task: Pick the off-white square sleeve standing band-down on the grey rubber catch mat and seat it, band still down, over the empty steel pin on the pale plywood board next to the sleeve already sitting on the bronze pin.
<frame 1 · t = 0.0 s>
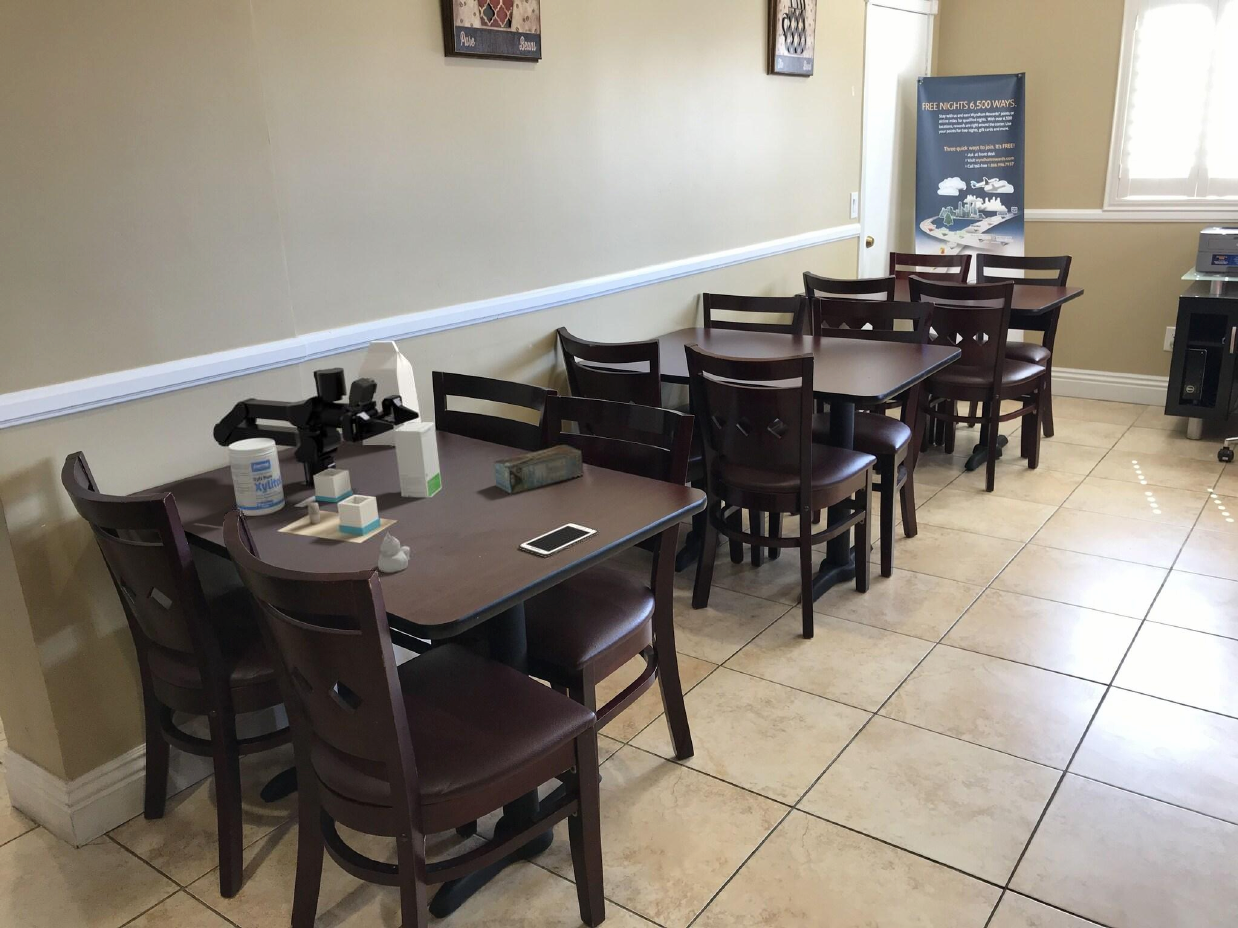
hand: (406, 420, 204), 17 cm above the table, tool horizontal, fingers open, 9 cm apart
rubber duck: (396, 572, 170), on the table
pin board: (338, 530, 190), on the table
skincare box: (421, 495, 208), on the table
cell phone: (559, 543, 181), on the table
milk: (393, 440, 251), on the table
sleeve b: (360, 528, 188), point 1 cm above the table, touching pin board
sleeve a: (334, 499, 207), resting on catch mat
catch mat: (334, 500, 207), on the table
supplement tub: (262, 510, 203), on the table
beverage carton: (540, 482, 215), on the table
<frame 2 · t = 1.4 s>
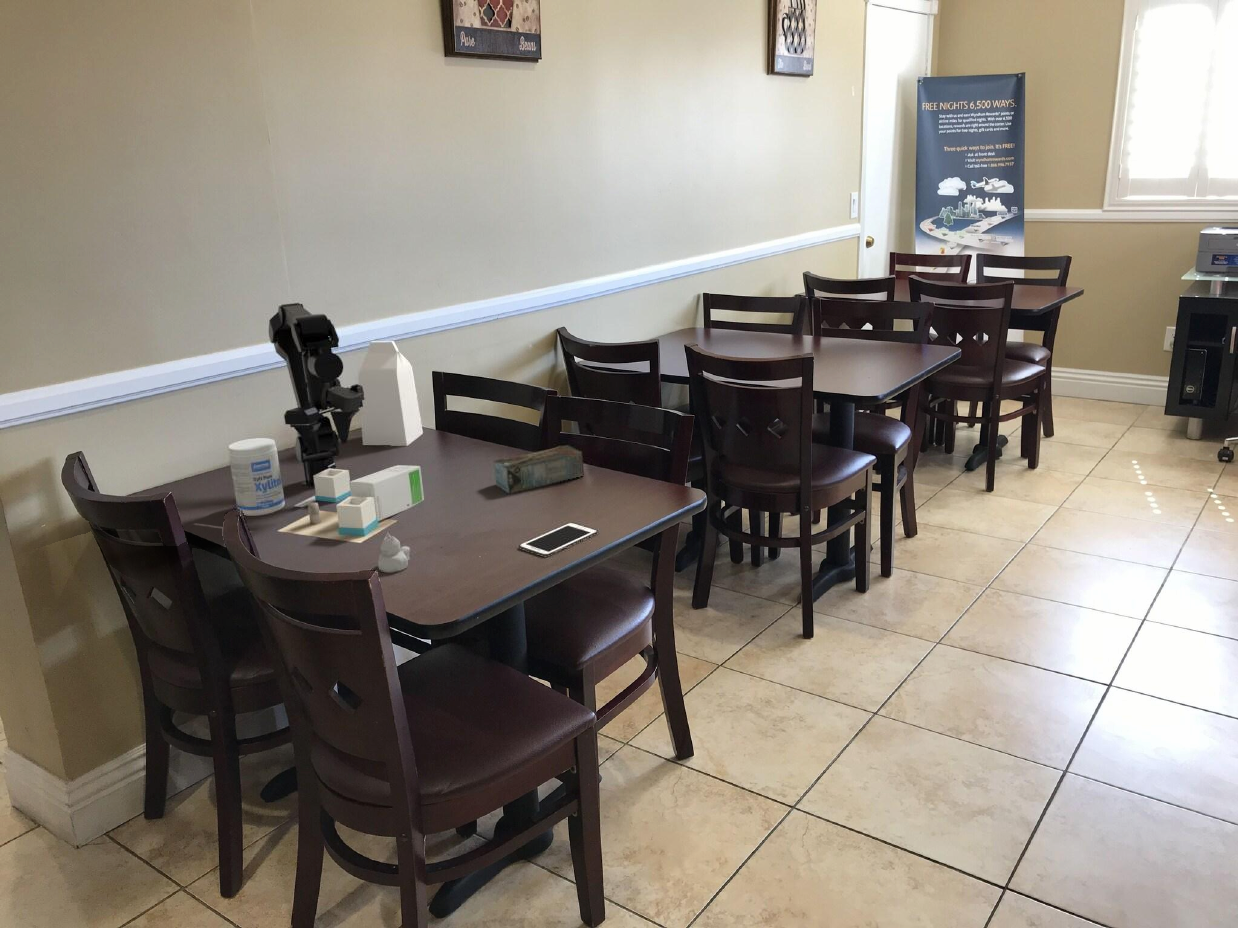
hand: (330, 448, 203), 12 cm above the table, tool pointing down, fingers open, 9 cm apart
skincare box: (410, 482, 203), point 4 cm above the table, touching pin board
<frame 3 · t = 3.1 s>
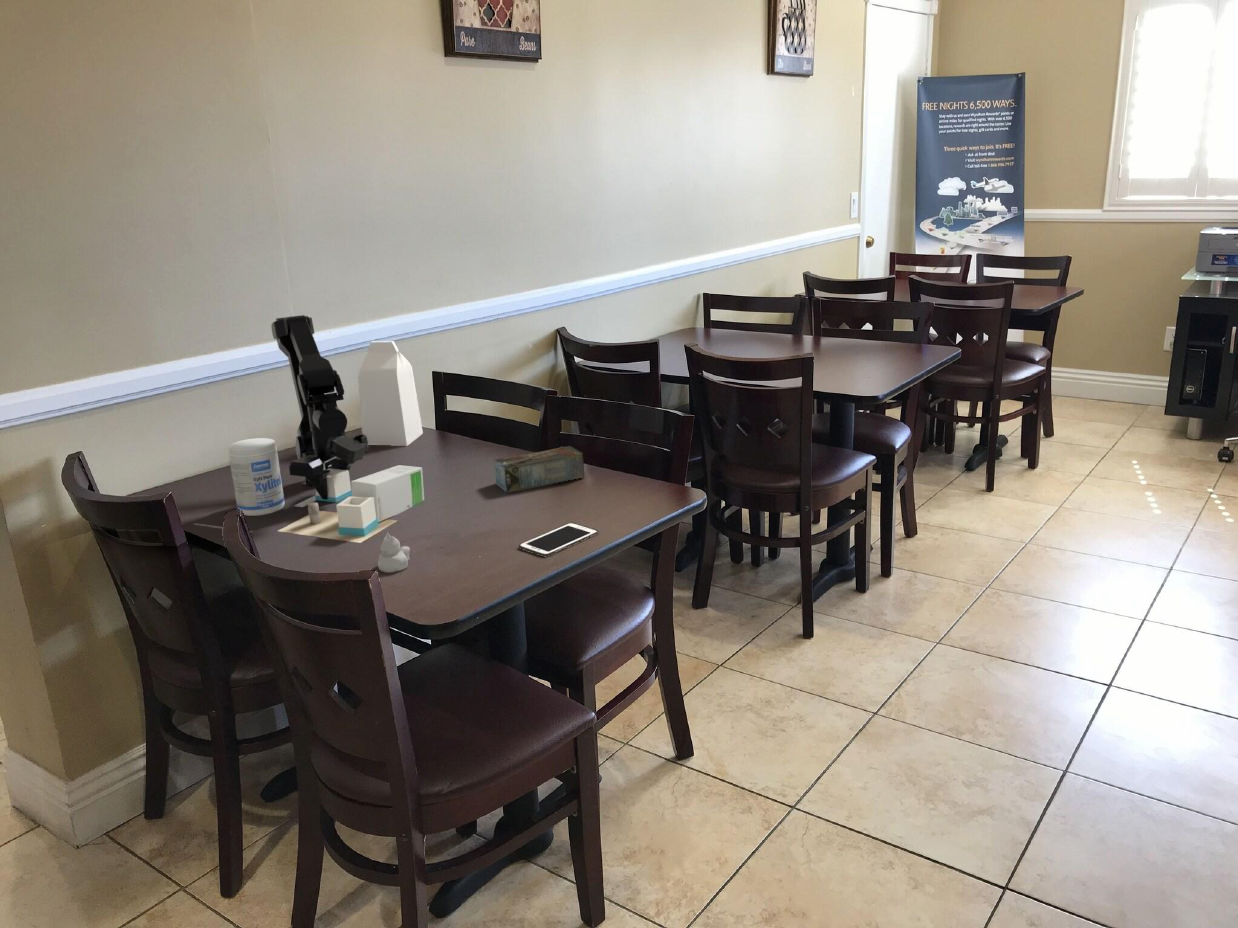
hand: (334, 494, 206), 1 cm above the table, tool pointing down, fingers closed on sleeve a, 6 cm apart
sleeve a: (334, 499, 207), resting on catch mat, touching gripper
everything else where it was.
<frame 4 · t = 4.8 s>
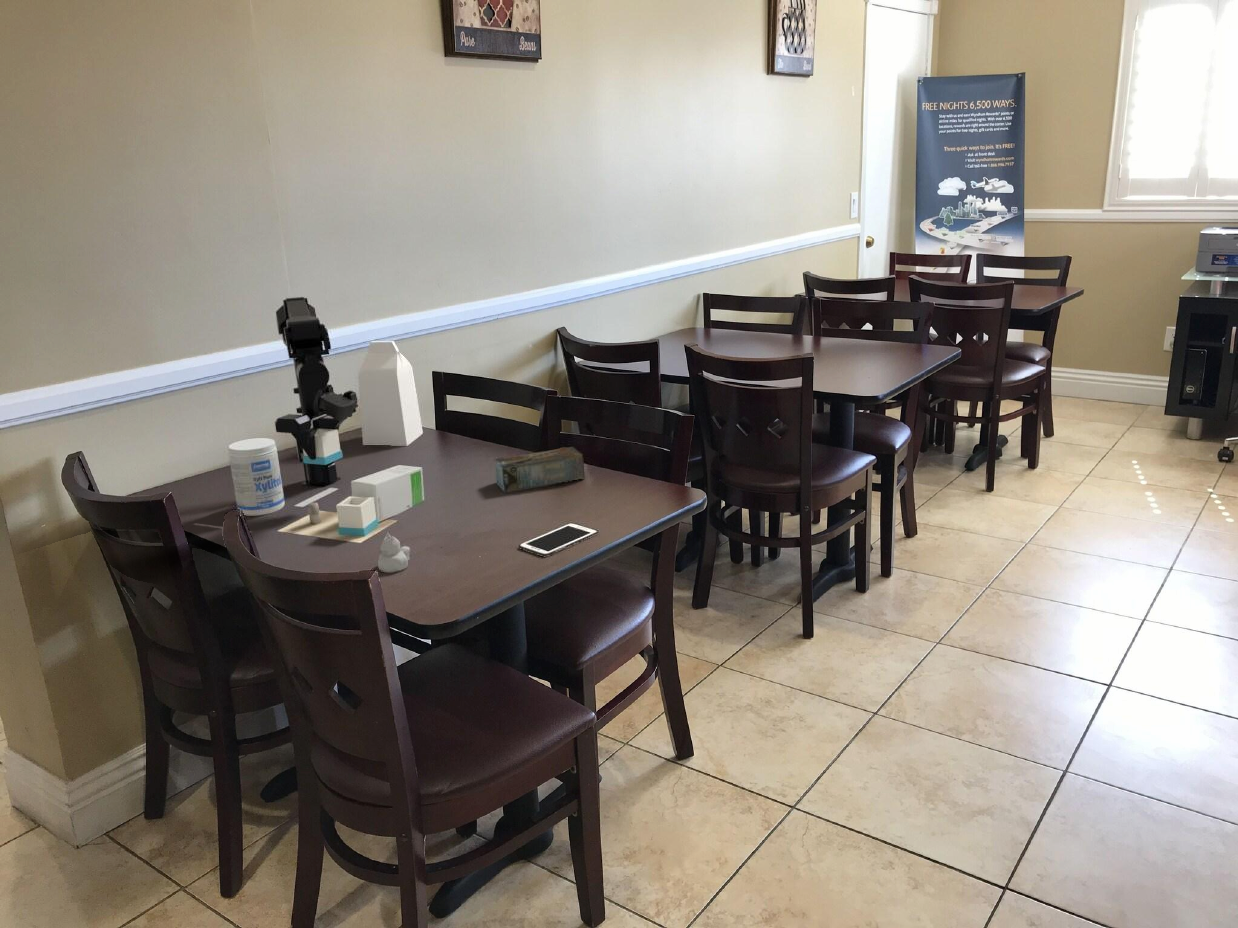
hand: (322, 455, 198), 12 cm above the table, tool pointing down, fingers closed on sleeve a, 6 cm apart
sleeve a: (323, 460, 198), point 11 cm above the table, touching gripper
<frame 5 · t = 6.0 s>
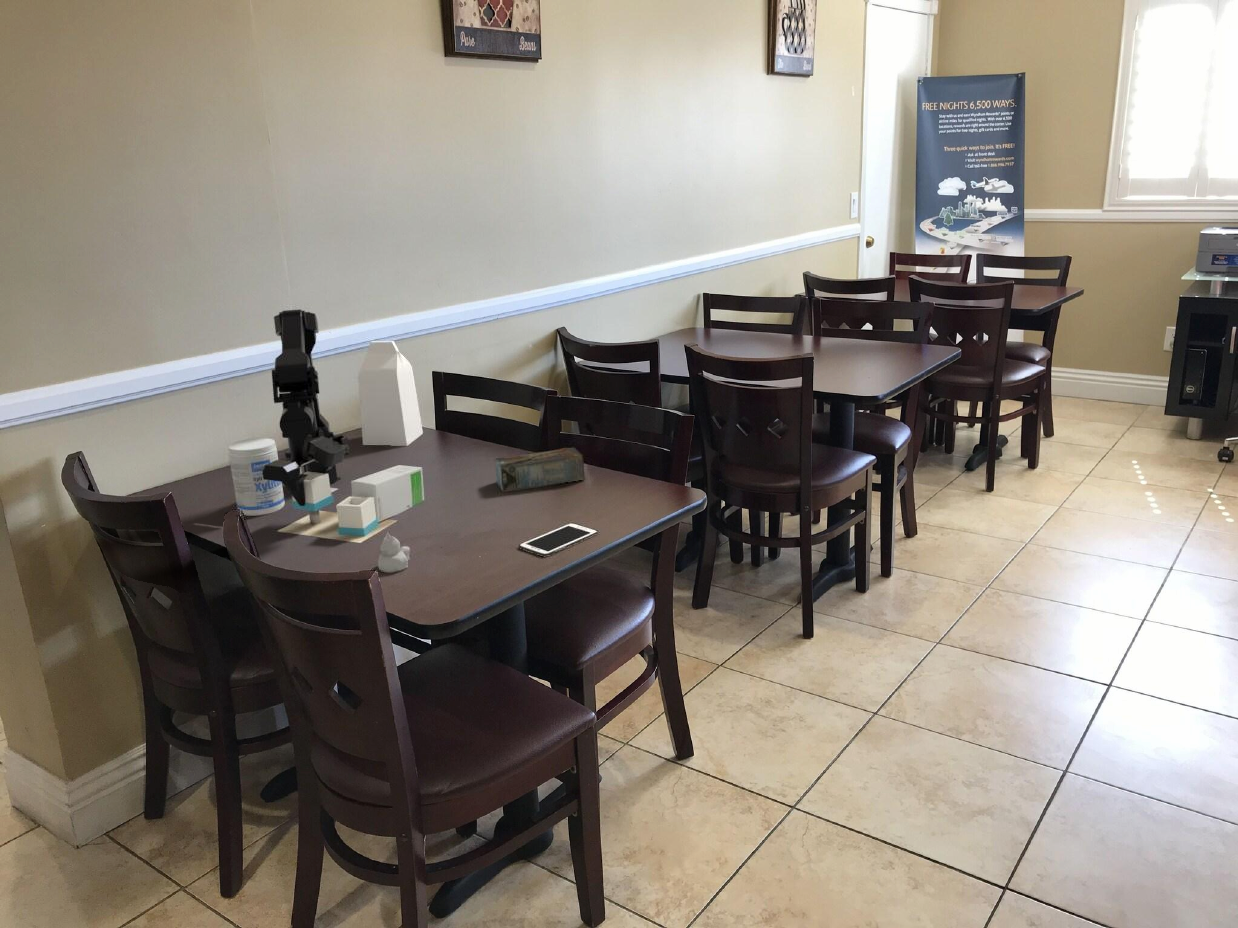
hand: (312, 500, 190), 6 cm above the table, tool pointing down, fingers closed on sleeve a, 6 cm apart
sleeve a: (313, 505, 191), point 5 cm above the table, touching gripper
when the fingers open (3 cm above the table, at t = 6.8 s): sleeve a drops 2 cm, resting on pin board.
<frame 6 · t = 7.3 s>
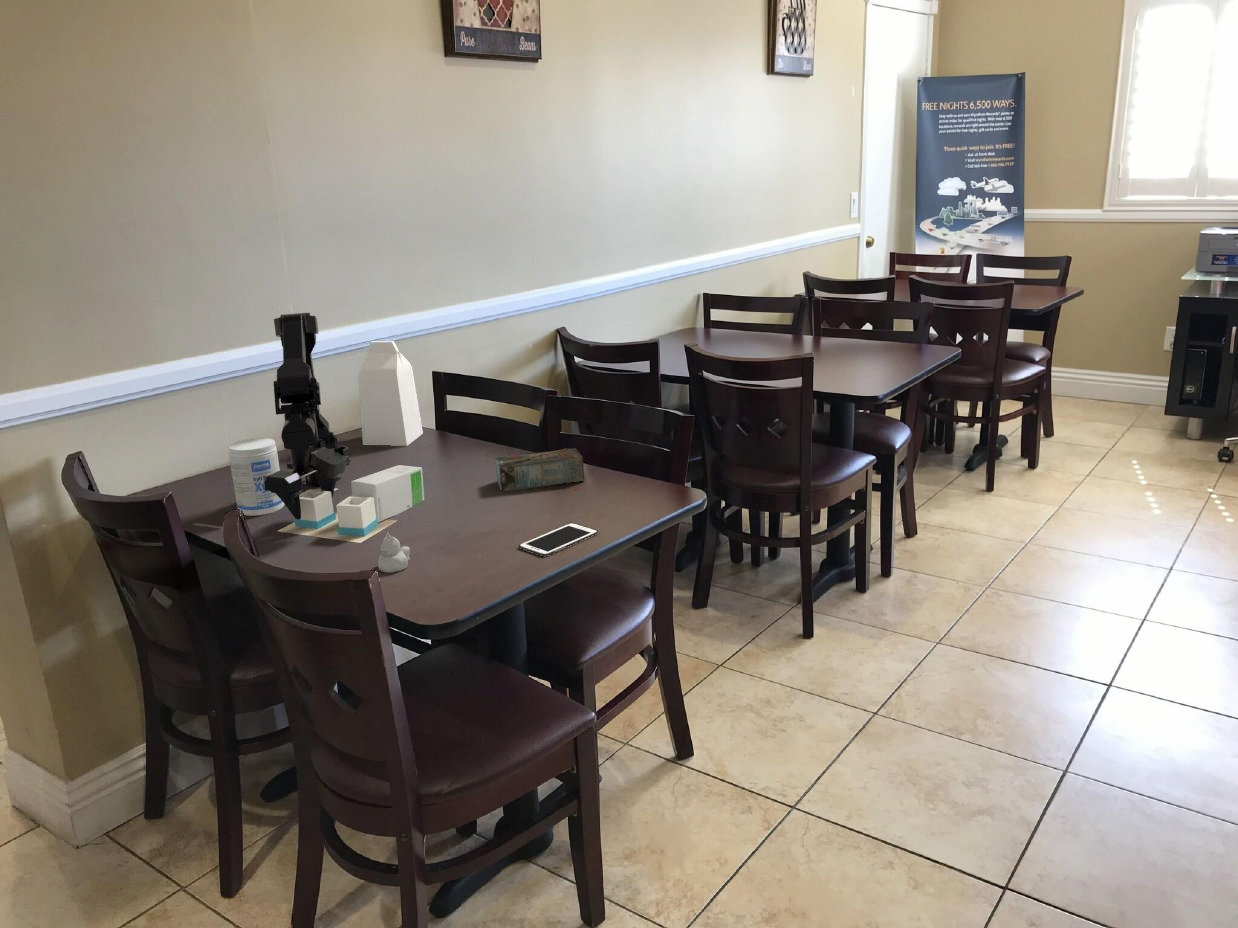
hand: (313, 511, 191), 3 cm above the table, tool pointing down, fingers open, 9 cm apart
sleeve a: (315, 522, 192), point 1 cm above the table, touching pin board
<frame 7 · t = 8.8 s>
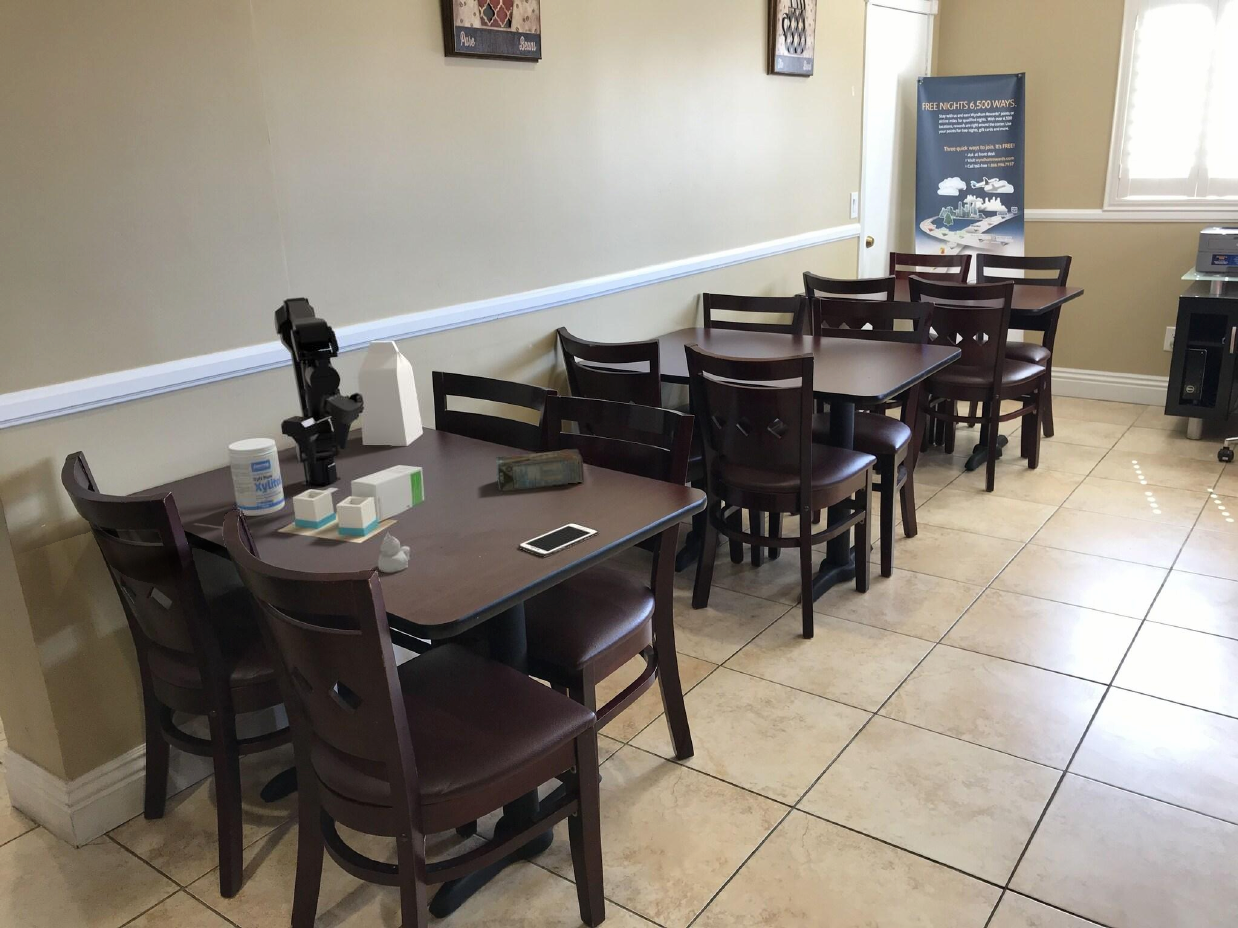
hand: (328, 455, 199), 12 cm above the table, tool pointing down, fingers open, 9 cm apart
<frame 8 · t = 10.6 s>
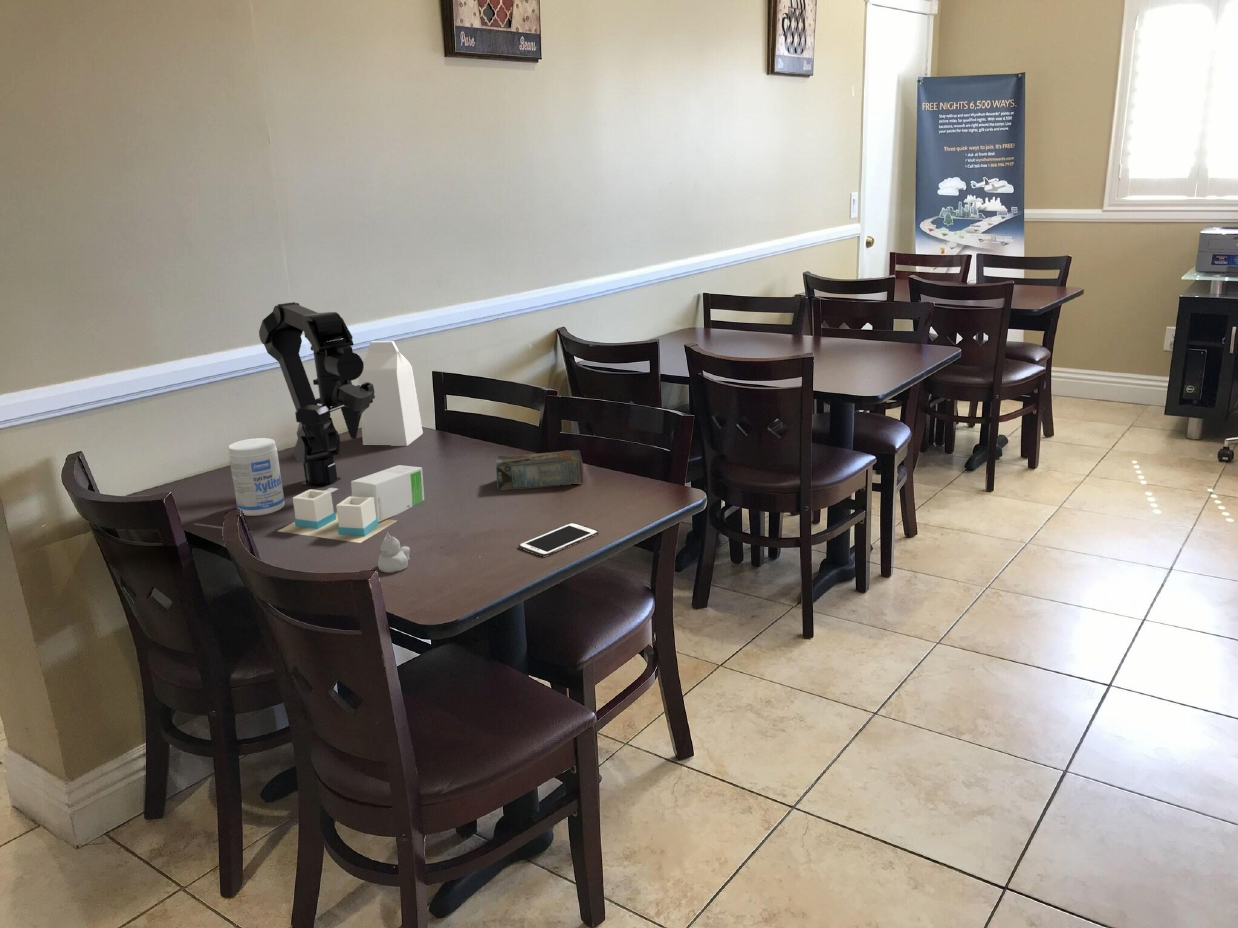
hand: (340, 444, 205), 12 cm above the table, tool pointing down, fingers open, 9 cm apart
at the end: sleeve a 0.1 cm from the target spot on the pin board, point 1.0 cm above the pin board's base; sleeve a tilted 0°; the gripper is holding nothing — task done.
